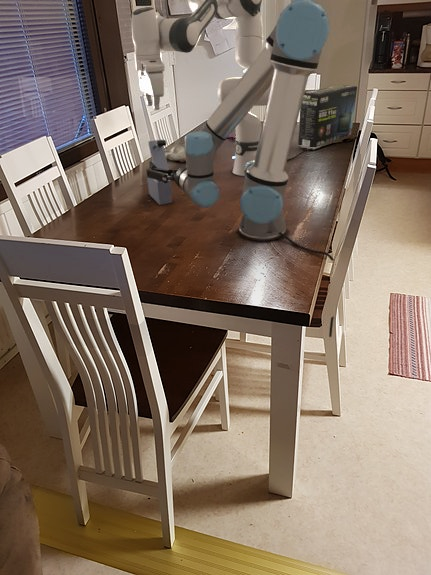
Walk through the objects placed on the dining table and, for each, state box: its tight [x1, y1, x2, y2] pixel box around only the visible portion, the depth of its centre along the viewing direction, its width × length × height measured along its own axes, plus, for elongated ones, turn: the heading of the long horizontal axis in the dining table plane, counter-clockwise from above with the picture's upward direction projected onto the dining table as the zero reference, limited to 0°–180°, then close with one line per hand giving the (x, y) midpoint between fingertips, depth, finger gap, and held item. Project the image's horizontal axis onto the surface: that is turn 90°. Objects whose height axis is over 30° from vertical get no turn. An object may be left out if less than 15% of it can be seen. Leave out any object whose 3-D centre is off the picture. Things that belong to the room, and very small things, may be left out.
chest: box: [146, 176, 173, 206], centre depth 179 cm, size 14×5×9 cm, turn 24°
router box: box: [297, 84, 358, 151], centre depth 238 cm, size 36×11×27 cm, turn 134°
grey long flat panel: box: [147, 139, 170, 181], centre depth 166 cm, size 14×5×8 cm
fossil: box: [164, 142, 186, 163], centre depth 229 cm, size 18×11×15 cm
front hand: (170, 163), depth 156 cm, fingers open, 13 cm apart
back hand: (153, 107), depth 161 cm, fingers open, 8 cm apart
